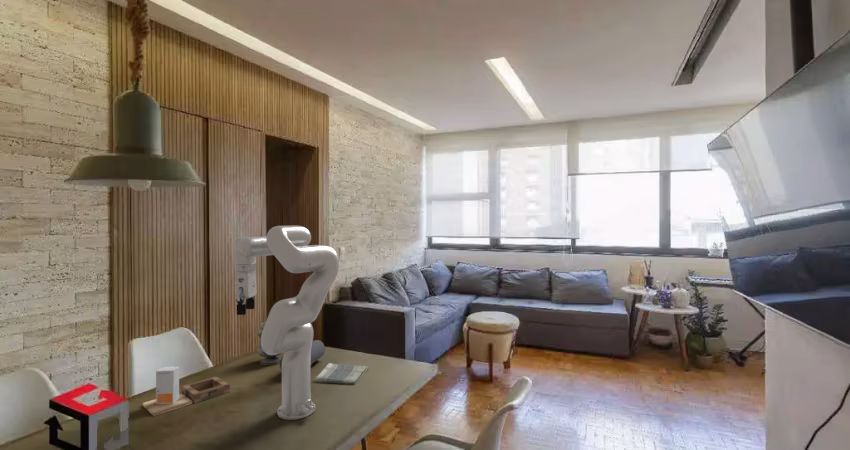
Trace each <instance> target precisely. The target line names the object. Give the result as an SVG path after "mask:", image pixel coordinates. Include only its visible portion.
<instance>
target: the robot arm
mask: <svg viewBox="0 0 850 450" xmlns="http://www.w3.org/2000/svg"><path fill="white" fill-rule="evenodd" d="M311 241H312V234H311V231H310V230H309V229H308V228H306V227H305V226H302V225H276V226H273V227H271V228H270V229H269V230H268V231H267V234H266V236H262V235H261V236H238V237H236V238H235V240H234V272H235V274H236V280H235V297H236V299H235V300H236V303H235V304H236V316H245V315H246V314H247V310H254V309H255V307H256V305H255V300H256V299H255V296H256V295H257V293H258V292H257V275H256V272H257V257H265V256H274V257H275V258H276V259H277V261H278V262H279V263H280V264H281V266H282V267H283V268H284V270H286V271H287V272H289V273H292V274H303V273H310V272H313V273H311V274H310V275H309V276H308V277H307V278H306V280H305V281H304V282H303V284H302V286H301V287H300V290H299V291H298V294H297V295H296V296H293V297H291V298H289V297H288V298H284V299H281V300H278V301H277V302H275V303H274V304H273V306H272V307H271V308H270V311H269V314H268V315H267V318H266V324H265V326H264V329H263V332H262V335H261V347H262V349H263V351H264V352H265V353H266V354H268V355H277V354H279V355H281V354H283V356H282V357H283V359H282V370H281V405H280V406H279V407H278V408H277V411H276V414H277V416H278V418H280V419H282V420H287V421H288V420H289V421H290V420H291V421H292V420H293V421H295V420H299V419H300V420H301V419H304V418H306V417H309V416H310V415H312V414H313V413H314V412H315V411H316V404H315V402H313V401H312V399H311V391H312V389H311V387H312V386H311V384H312V383H311V382H312V380H311V378H312V377H311V375H312V374H311V366H312V365H311V346H312V341H314V327H313V324H312V323H313V322H315V321H316V320H317V318H318V316H319V314H320V311H321V309H322V307H323V305H324V302H325V300H326V297H327V295H328V294H329V293H328V292H329V290H330V289H331V288H332V286H333V284H334V282H335V280H336V278H337V276H338V273H339V268H340V266H339V265H340V262H339V257H338V253H337V252H336V250H335V249H334V248H333V247H332V246H329V245H325V244H311V245H309V244H310V243H311ZM280 353H281V354H280ZM277 356H278V355H277Z"/></svg>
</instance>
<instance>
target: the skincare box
mask: <svg viewBox="0 0 850 450" xmlns="http://www.w3.org/2000/svg"><path fill="white" fill-rule="evenodd" d="M155 372H156V373H155V399H156V404H174V403H175V402H176V401H177V400H178V399H179V392H180V366H162V367H160V368H159V369H157V370H156V371H155Z"/></svg>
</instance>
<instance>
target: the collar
mask: <svg viewBox="0 0 850 450" xmlns="http://www.w3.org/2000/svg"><path fill="white" fill-rule="evenodd" d="M230 387H231V385H230V383H228V382H226V381H224V379H221V378H219V377H218V376H212V377H207V378H204V379H202V380H198V381H194V382H191V383H188V384H183V385H181V393H182V394H183V395H185V396H186V397H187V398H189V399H190V400H191V401H192V403H194V404H196V403H199V402H203V401H206V400H209V399H213V398H216V397H218V396H222V395H224V394H228V393H230V390H231V388H230Z"/></svg>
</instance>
